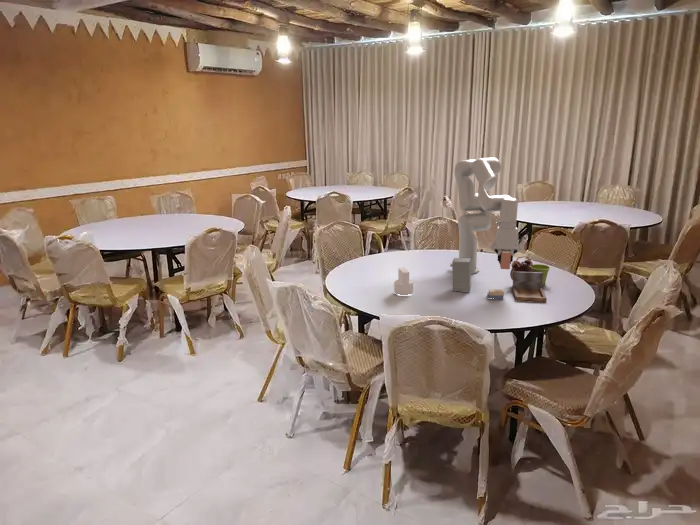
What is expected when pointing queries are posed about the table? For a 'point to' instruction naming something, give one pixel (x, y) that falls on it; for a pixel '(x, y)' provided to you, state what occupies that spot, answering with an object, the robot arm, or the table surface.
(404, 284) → the cylinder with rectangular tab
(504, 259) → the salmon pink block
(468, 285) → the skincare box
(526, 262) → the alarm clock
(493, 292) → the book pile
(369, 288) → the table surface
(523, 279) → the brown open box
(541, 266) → the plant pot
